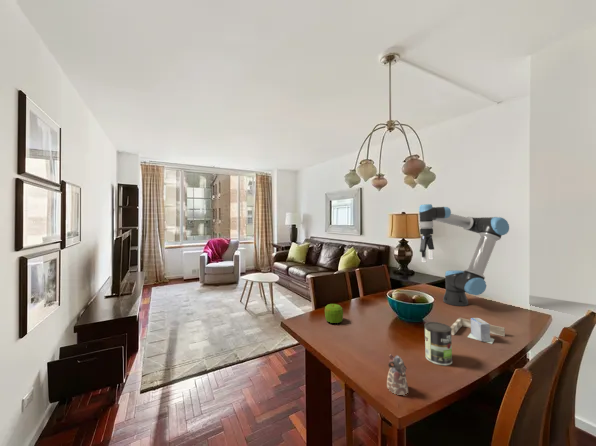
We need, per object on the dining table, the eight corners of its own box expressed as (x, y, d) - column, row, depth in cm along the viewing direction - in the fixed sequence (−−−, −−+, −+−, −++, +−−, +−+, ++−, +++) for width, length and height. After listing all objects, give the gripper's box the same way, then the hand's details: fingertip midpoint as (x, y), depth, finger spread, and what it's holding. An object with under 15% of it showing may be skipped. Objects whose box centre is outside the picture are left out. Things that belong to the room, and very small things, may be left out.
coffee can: (458, 361, 105) (457, 328, 104) (441, 368, 100) (440, 333, 100) (435, 350, 114) (435, 320, 114) (419, 355, 110) (419, 324, 110)
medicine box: (490, 341, 120) (490, 323, 120) (481, 341, 120) (480, 324, 120) (479, 334, 128) (479, 317, 128) (470, 334, 128) (470, 317, 128)
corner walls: (459, 324, 141) (459, 317, 141) (504, 335, 126) (504, 327, 126) (450, 334, 129) (450, 326, 129) (499, 347, 115) (499, 339, 115)
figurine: (404, 399, 84) (403, 363, 84) (383, 390, 88) (382, 356, 88) (411, 388, 89) (410, 355, 89) (391, 380, 94) (390, 348, 94)
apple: (347, 322, 148) (346, 304, 148) (333, 327, 142) (333, 308, 142) (334, 316, 158) (333, 299, 158) (321, 321, 152) (320, 303, 152)
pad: (470, 333, 130) (470, 332, 130) (494, 339, 122) (494, 338, 122) (467, 337, 126) (467, 336, 126) (492, 343, 118) (492, 343, 118)
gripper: (426, 227, 172) (427, 257, 172) (413, 229, 154) (414, 262, 154) (438, 227, 167) (439, 258, 167) (426, 229, 149) (427, 264, 149)
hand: (427, 260), depth 161 cm, fingers open, 13 cm apart
